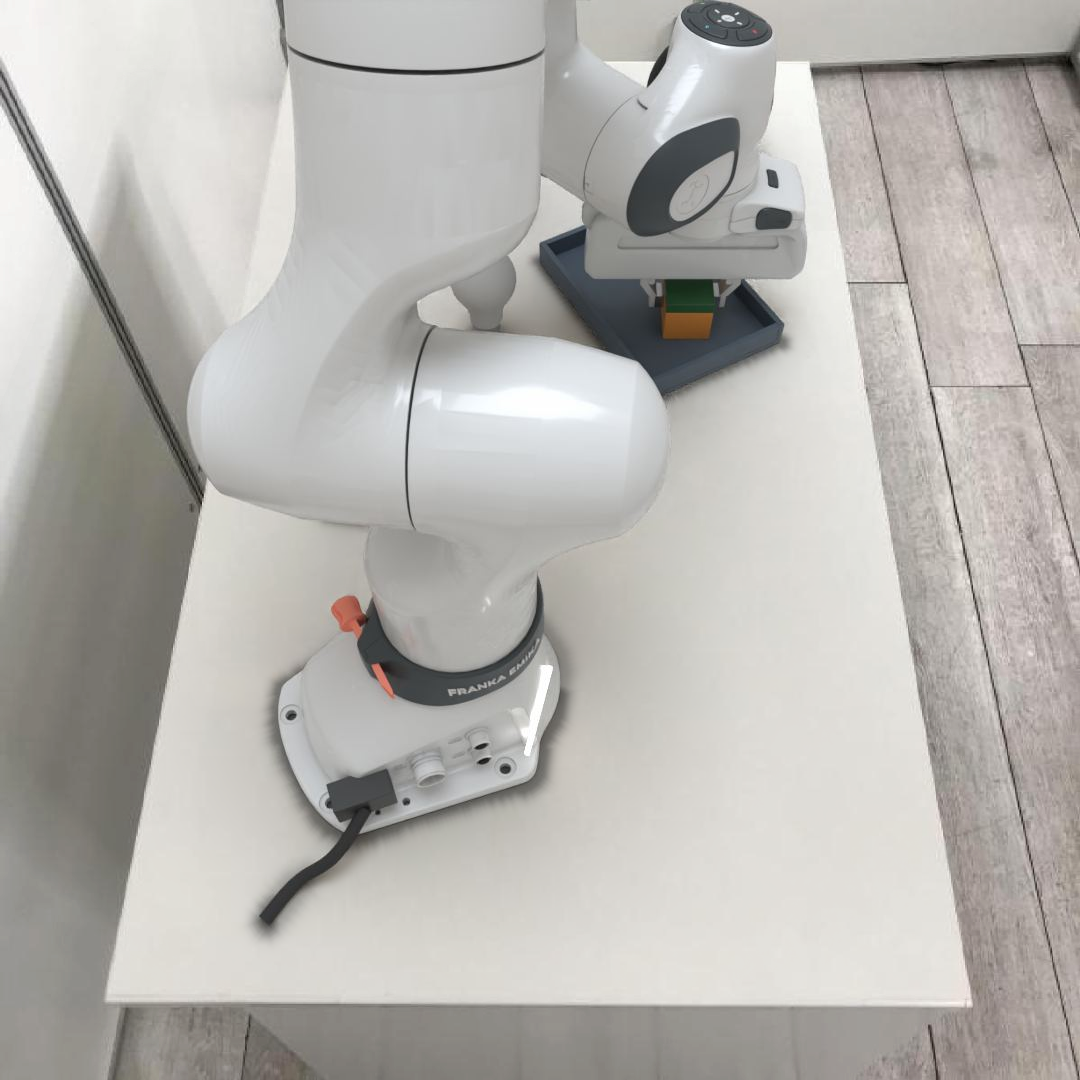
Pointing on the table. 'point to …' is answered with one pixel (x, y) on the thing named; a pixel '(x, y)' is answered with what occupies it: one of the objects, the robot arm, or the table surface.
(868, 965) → the table surface
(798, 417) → the table surface
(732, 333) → the tray
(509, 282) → the lightbulb
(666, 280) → the sponge
